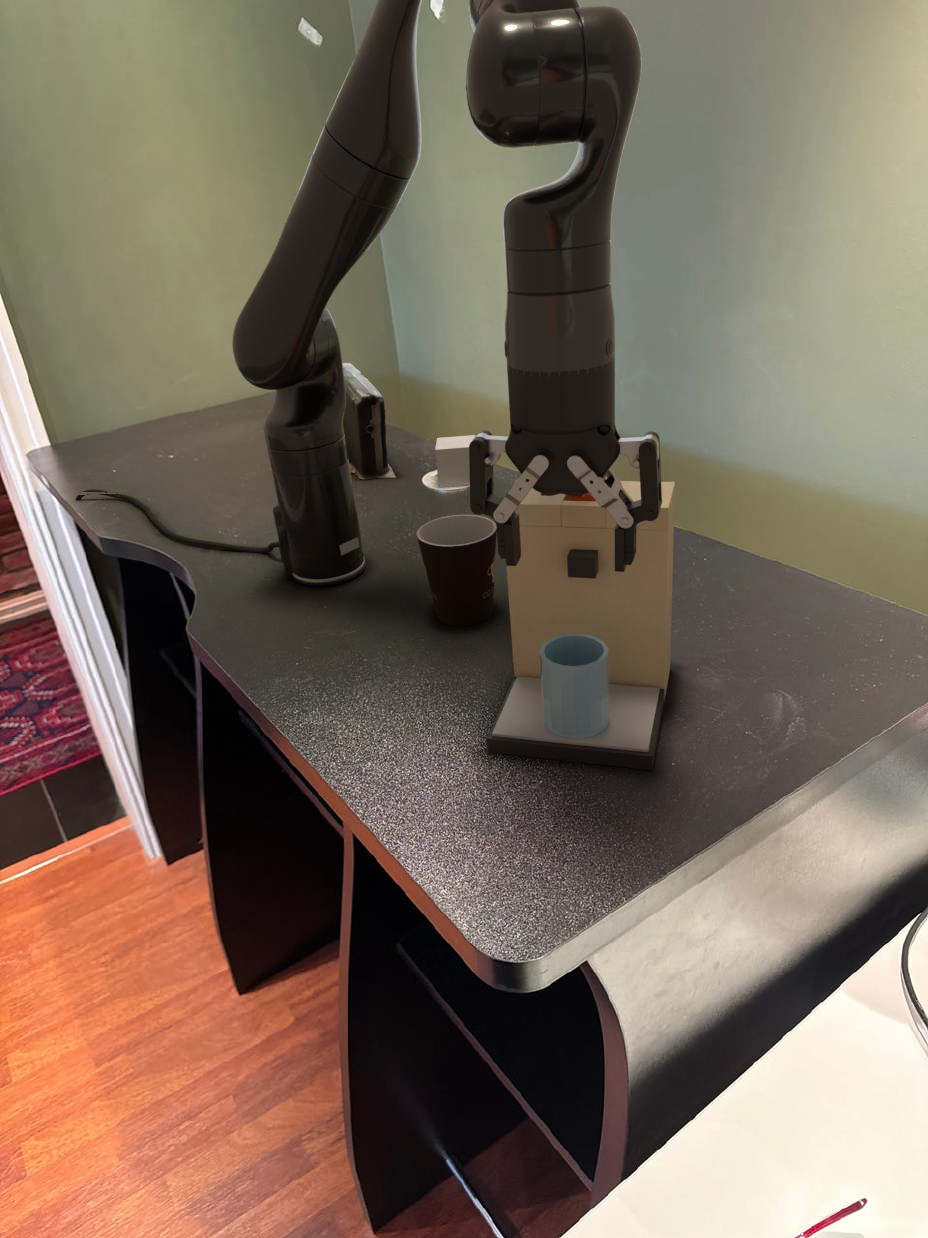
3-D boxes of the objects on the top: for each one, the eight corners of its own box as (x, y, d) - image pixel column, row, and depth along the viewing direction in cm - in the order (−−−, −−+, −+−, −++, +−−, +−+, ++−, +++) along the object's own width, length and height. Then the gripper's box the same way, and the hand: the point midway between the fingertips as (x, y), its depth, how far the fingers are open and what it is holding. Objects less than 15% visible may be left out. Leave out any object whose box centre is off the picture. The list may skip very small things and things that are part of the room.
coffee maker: (487, 752, 76) (468, 552, 67) (529, 657, 90) (518, 479, 81) (652, 770, 72) (655, 560, 63) (670, 668, 86) (675, 481, 76)
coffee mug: (477, 636, 94) (469, 551, 89) (411, 621, 98) (400, 539, 94) (529, 590, 103) (524, 510, 98) (466, 578, 107) (458, 501, 102)
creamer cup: (550, 699, 79) (547, 631, 76) (613, 704, 78) (612, 635, 75) (537, 735, 75) (533, 665, 72) (603, 742, 73) (602, 670, 70)
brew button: (568, 509, 76) (568, 484, 75) (575, 496, 78) (574, 472, 77) (603, 510, 75) (603, 485, 74) (609, 497, 77) (608, 473, 76)
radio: (396, 477, 142) (383, 384, 135) (342, 486, 141) (327, 392, 134) (377, 438, 162) (366, 355, 155) (330, 445, 161) (317, 362, 154)
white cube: (441, 474, 142) (437, 437, 139) (478, 471, 141) (475, 434, 138) (438, 487, 136) (434, 449, 133) (477, 484, 136) (474, 446, 133)
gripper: (670, 340, 63) (663, 549, 70) (477, 344, 67) (491, 541, 74) (658, 366, 56) (653, 592, 64) (447, 368, 61) (465, 580, 68)
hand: (566, 564), depth 69 cm, fingers open, 8 cm apart
